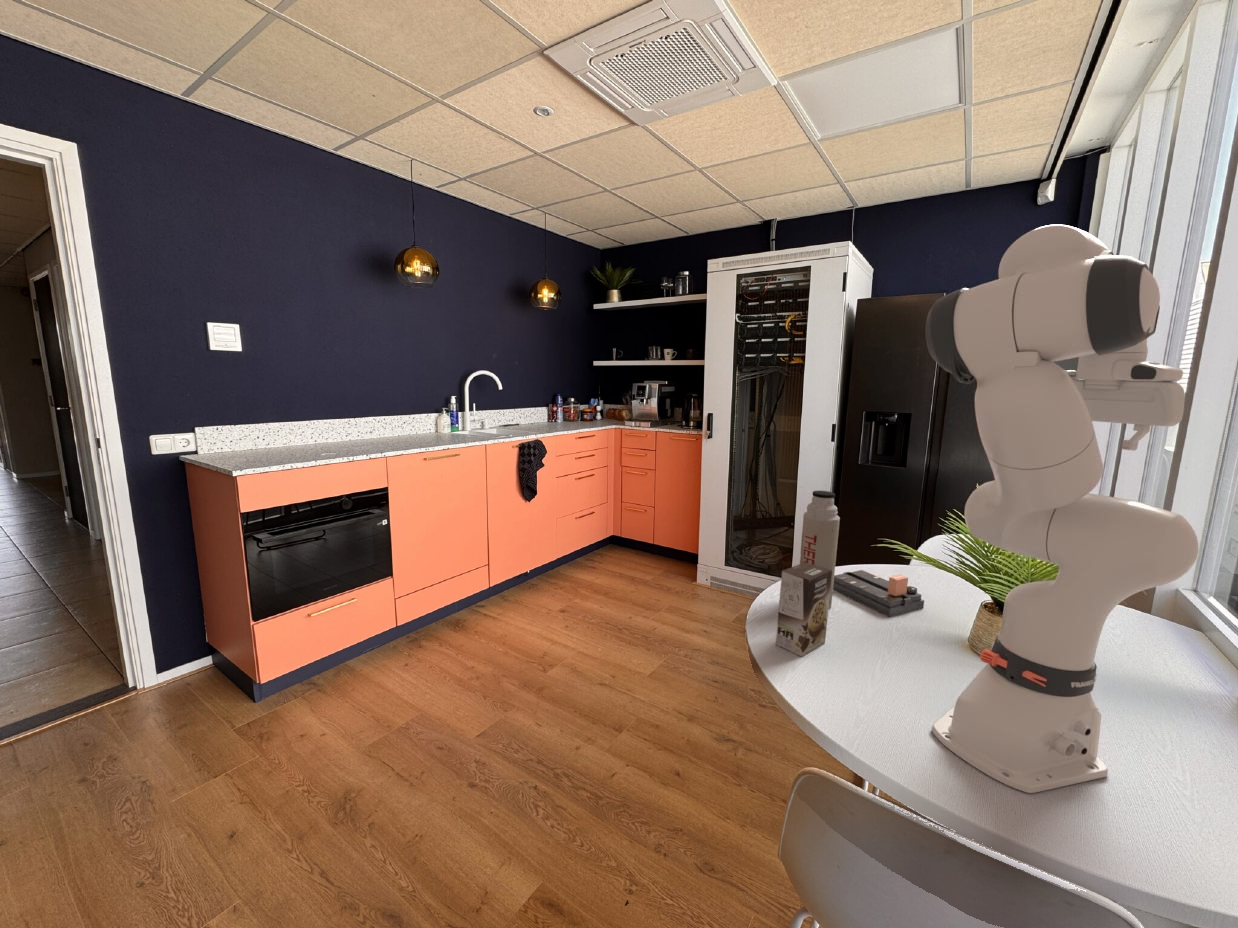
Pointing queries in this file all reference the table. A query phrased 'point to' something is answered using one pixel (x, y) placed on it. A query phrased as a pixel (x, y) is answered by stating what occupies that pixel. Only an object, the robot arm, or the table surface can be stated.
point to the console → (876, 593)
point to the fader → (897, 585)
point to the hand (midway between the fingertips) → (1095, 446)
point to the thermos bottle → (821, 533)
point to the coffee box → (803, 608)
